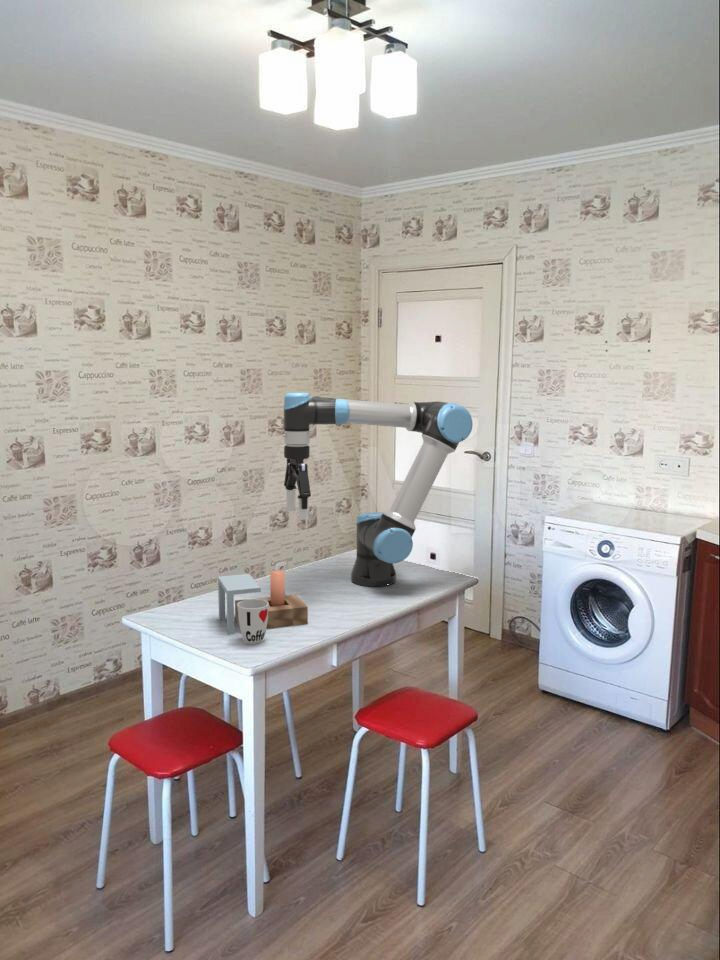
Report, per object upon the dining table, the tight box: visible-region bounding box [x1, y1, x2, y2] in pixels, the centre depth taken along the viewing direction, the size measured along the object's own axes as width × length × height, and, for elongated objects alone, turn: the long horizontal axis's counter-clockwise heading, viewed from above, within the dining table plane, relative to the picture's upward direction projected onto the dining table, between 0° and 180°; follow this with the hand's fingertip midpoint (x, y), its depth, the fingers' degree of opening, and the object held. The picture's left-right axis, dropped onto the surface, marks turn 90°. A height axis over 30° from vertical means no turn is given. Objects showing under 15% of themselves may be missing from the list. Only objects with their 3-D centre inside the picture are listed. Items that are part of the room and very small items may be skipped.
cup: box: [237, 598, 269, 645], centre depth 199 cm, size 8×8×10 cm
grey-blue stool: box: [217, 573, 262, 636], centre depth 210 cm, size 9×14×12 cm, turn 21°
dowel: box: [269, 569, 286, 607], centre depth 214 cm, size 4×4×14 cm
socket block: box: [234, 593, 309, 630], centre depth 214 cm, size 18×12×5 cm, turn 111°
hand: (297, 515), depth 228 cm, fingers open, 13 cm apart
